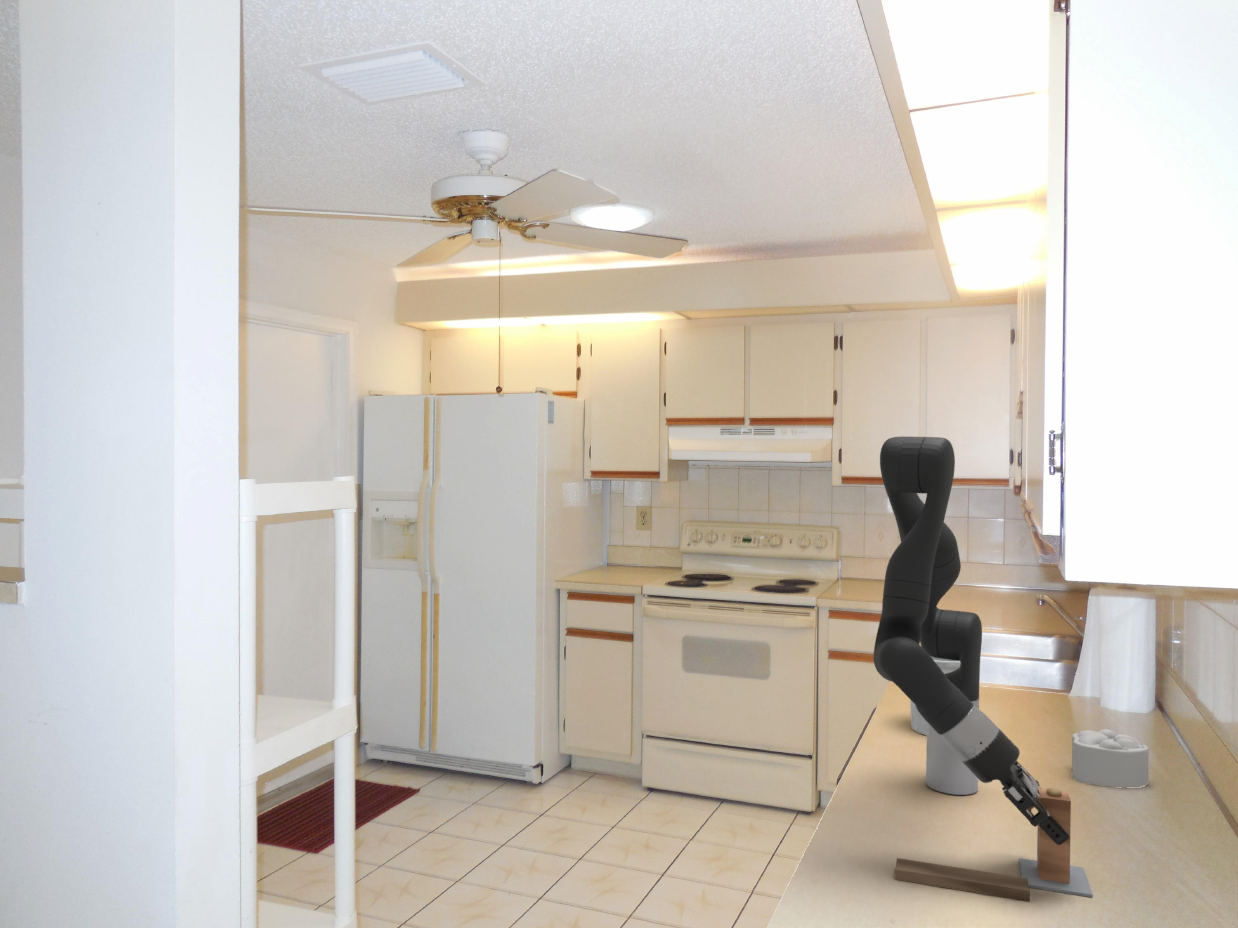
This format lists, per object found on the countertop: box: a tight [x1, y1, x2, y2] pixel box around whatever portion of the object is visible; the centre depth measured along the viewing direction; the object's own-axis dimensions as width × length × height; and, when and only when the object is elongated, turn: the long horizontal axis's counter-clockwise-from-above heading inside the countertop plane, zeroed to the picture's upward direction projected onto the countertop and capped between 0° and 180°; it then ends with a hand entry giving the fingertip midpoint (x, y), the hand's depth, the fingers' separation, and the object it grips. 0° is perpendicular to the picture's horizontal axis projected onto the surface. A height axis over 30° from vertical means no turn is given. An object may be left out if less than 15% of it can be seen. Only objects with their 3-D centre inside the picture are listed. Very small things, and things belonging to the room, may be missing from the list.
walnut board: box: [894, 857, 1031, 902], centre depth 130 cm, size 4×18×2 cm, turn 70°
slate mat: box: [1017, 857, 1094, 898], centre depth 133 cm, size 9×9×1 cm
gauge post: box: [1036, 787, 1072, 884], centre depth 133 cm, size 4×4×13 cm
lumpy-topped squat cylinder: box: [1071, 728, 1150, 788], centre depth 175 cm, size 10×13×9 cm
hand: (1060, 829), depth 132 cm, fingers open, 8 cm apart
